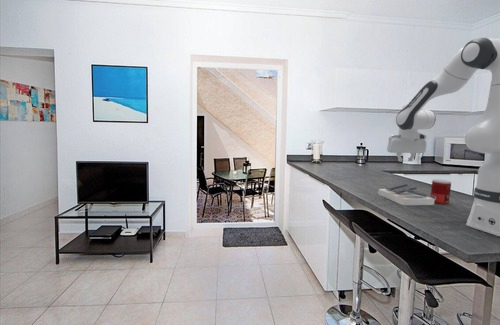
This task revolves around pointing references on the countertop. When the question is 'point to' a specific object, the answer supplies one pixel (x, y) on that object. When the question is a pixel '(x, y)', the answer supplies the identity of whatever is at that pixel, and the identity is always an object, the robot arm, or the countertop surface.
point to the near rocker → (414, 192)
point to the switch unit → (406, 198)
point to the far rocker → (396, 186)
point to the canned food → (441, 191)
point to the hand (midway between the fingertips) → (405, 161)
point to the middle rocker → (410, 187)
